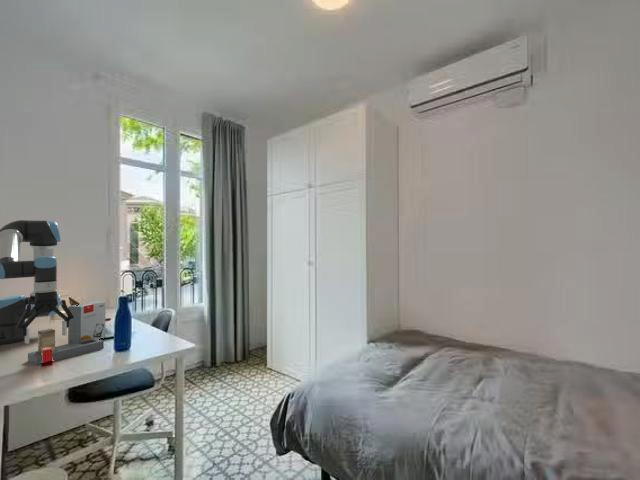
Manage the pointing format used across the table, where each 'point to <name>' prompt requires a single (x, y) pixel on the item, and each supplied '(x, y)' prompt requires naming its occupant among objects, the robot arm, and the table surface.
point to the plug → (46, 339)
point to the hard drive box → (87, 321)
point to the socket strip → (69, 350)
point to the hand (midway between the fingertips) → (46, 339)
